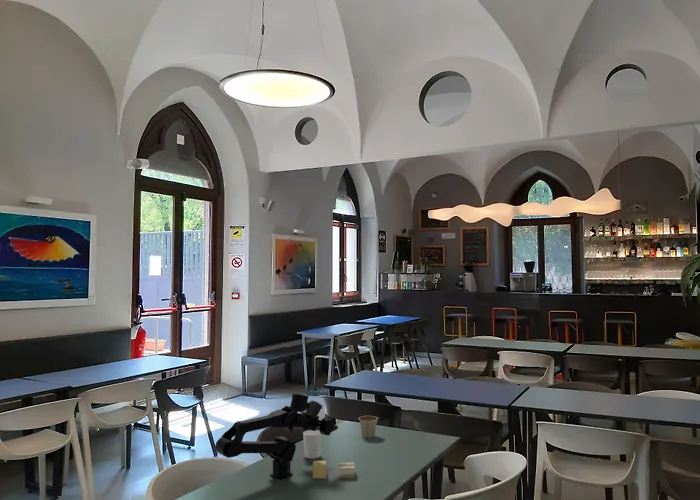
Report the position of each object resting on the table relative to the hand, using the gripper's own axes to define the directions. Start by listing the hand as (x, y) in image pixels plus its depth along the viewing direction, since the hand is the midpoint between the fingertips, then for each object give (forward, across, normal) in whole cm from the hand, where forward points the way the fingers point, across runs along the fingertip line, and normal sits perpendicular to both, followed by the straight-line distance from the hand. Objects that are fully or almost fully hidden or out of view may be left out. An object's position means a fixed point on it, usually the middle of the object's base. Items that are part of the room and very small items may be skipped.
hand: (330, 425), depth 233 cm
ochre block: (-9, -10, +18) cm, 23 cm away
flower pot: (+37, +15, +4) cm, 40 cm away
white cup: (+2, +10, +15) cm, 18 cm away
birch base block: (-1, -17, +16) cm, 23 cm away
